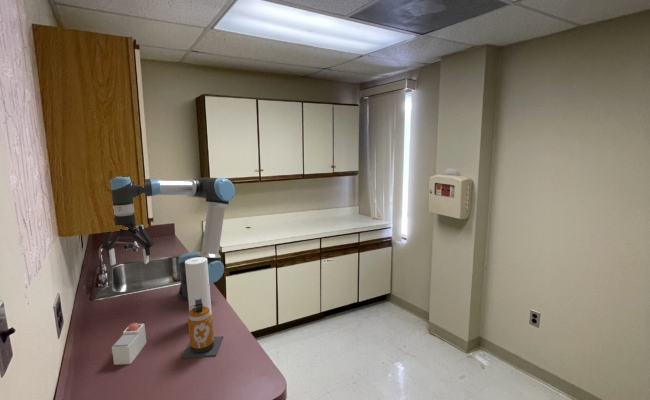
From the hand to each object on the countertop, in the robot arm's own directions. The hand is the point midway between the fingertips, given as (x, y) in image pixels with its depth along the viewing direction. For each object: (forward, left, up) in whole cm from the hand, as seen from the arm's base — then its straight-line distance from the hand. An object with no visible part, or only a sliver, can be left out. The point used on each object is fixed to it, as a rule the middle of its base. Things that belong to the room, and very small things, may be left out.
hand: (130, 263), depth 146 cm
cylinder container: (-7, +25, -32) cm, 41 cm away
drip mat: (+14, +32, -32) cm, 47 cm away
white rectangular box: (+15, +4, -32) cm, 35 cm away
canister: (+14, +31, -31) cm, 46 cm away
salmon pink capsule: (+11, +4, -30) cm, 32 cm away
